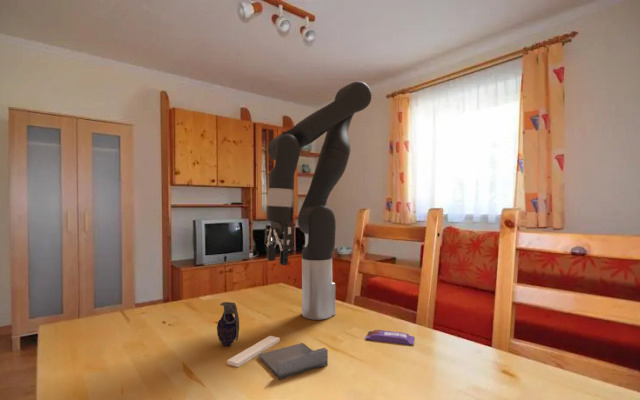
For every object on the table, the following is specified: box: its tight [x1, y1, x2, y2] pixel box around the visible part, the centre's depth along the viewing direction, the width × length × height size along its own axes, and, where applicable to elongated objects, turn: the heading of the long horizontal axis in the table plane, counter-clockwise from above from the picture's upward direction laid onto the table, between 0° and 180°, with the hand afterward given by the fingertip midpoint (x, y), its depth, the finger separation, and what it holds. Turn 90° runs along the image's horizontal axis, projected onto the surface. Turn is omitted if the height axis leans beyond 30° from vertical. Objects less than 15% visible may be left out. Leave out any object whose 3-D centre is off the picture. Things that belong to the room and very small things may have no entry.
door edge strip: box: [226, 335, 281, 368], centre depth 77 cm, size 15×3×1 cm, turn 152°
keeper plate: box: [257, 342, 329, 381], centre depth 72 cm, size 11×11×3 cm
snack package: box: [365, 329, 415, 346], centre depth 83 cm, size 12×2×5 cm
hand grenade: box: [216, 301, 240, 347], centre depth 80 cm, size 6×5×10 cm
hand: (276, 262), depth 95 cm, fingers open, 8 cm apart
